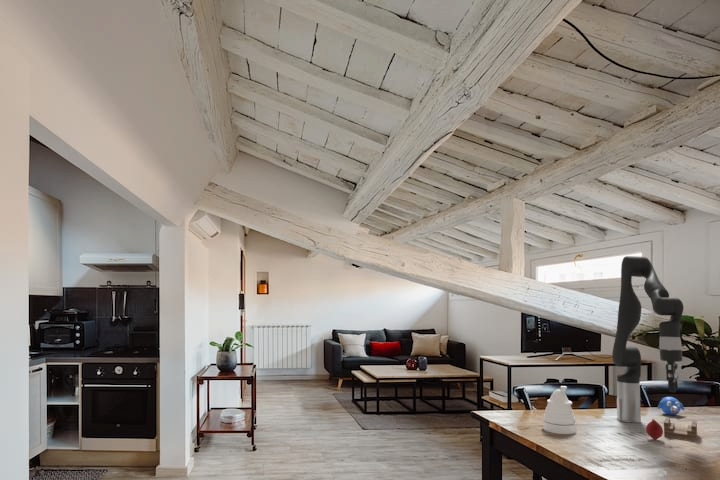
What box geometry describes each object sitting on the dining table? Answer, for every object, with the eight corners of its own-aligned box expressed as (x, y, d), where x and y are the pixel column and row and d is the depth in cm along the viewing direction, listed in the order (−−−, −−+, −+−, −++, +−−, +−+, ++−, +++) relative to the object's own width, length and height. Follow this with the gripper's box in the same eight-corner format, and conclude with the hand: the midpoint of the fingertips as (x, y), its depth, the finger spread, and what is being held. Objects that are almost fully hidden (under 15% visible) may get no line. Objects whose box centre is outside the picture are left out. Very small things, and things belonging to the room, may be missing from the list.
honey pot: (576, 428, 225) (576, 385, 226) (575, 435, 213) (574, 389, 215) (545, 424, 230) (544, 382, 232) (541, 431, 218) (541, 387, 220)
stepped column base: (696, 441, 208) (695, 426, 208) (664, 436, 214) (663, 422, 214) (697, 434, 218) (696, 421, 218) (666, 430, 224) (665, 417, 224)
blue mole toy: (663, 417, 248) (663, 399, 249) (654, 412, 260) (653, 394, 261) (691, 419, 246) (690, 400, 247) (680, 413, 258) (679, 395, 259)
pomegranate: (661, 438, 210) (660, 418, 211) (664, 442, 205) (663, 421, 206) (645, 437, 212) (644, 416, 213) (647, 440, 207) (647, 419, 208)
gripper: (662, 347, 216) (664, 388, 213) (657, 348, 205) (659, 391, 202) (683, 348, 212) (686, 390, 209) (679, 349, 200) (682, 393, 198)
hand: (673, 391), depth 205 cm, fingers open, 8 cm apart
